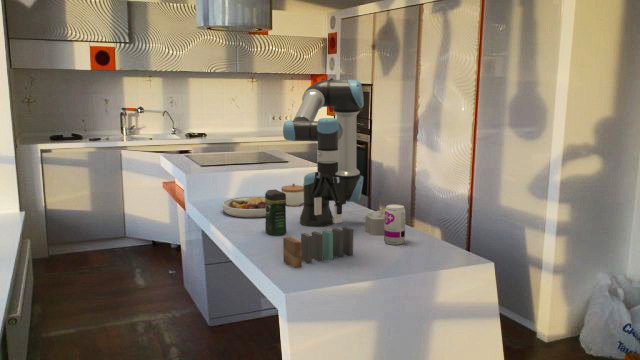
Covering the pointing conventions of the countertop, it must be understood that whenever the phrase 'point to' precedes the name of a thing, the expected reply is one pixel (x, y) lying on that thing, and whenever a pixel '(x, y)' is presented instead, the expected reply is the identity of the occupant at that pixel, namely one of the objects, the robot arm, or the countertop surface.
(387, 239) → the supplement can
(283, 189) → the lidded bowl
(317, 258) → the domino
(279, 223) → the coffee jar
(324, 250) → the domino
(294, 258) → the end block
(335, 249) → the domino
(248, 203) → the bowl
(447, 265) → the countertop surface
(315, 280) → the countertop surface
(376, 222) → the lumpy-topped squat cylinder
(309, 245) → the domino
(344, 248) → the domino
